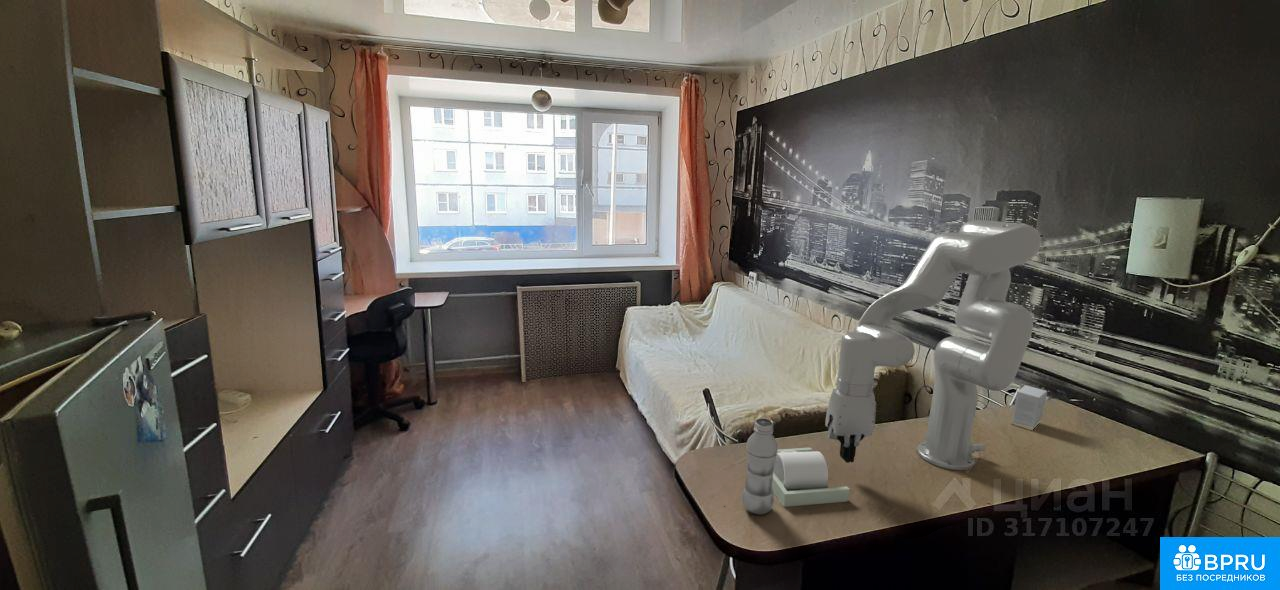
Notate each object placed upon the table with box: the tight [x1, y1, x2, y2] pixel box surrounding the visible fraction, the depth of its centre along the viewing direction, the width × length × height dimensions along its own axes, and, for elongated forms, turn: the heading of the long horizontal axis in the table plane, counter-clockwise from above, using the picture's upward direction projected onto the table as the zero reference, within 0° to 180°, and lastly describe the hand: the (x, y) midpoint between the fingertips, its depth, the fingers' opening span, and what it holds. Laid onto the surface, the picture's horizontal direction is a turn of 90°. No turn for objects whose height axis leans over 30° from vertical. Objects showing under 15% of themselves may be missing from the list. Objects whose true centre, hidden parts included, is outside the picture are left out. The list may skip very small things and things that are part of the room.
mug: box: [773, 450, 829, 491], centre depth 121 cm, size 12×10×8 cm
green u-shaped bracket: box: [773, 447, 851, 508], centre depth 122 cm, size 15×18×3 cm
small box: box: [1011, 384, 1048, 428], centre depth 152 cm, size 8×6×10 cm
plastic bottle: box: [742, 417, 779, 515], centre depth 109 cm, size 6×7×20 cm
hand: (846, 459), depth 123 cm, fingers closed
